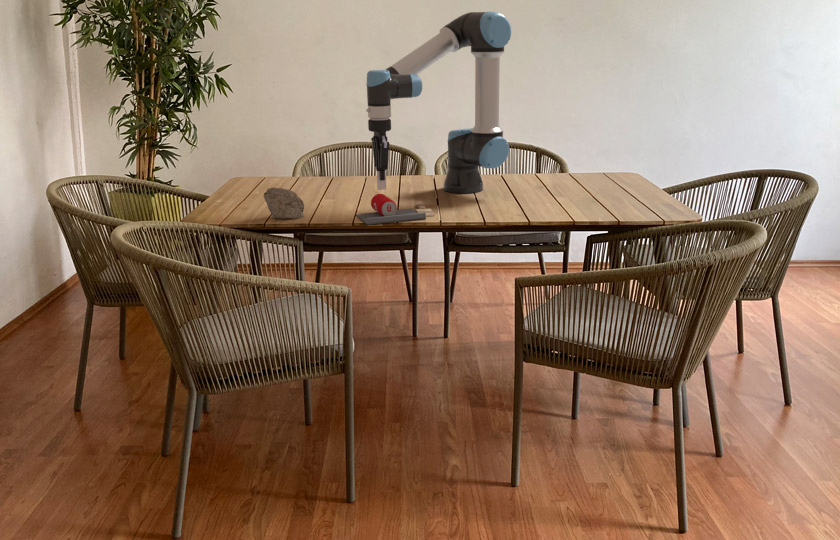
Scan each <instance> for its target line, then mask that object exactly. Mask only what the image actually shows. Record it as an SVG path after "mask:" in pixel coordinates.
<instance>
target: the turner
mask: <svg viewBox="0 0 840 540" xmlns="http://www.w3.org/2000/svg"><path fill="white" fill-rule="evenodd" d="M415 204H416V207H417V208H418V209H415V211H416V212H418V213H424V212H425V213H426V218H427V217H435V213H434V211H433V210H432V208H426V206H425V204H424V203H423V202H422V201H416V203H415Z"/></svg>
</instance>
